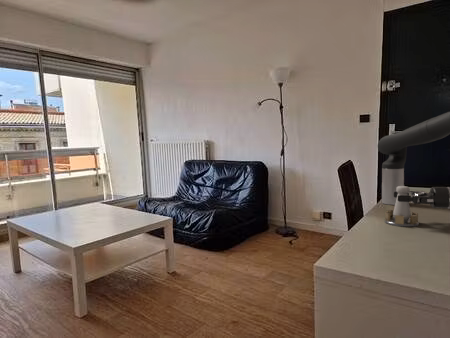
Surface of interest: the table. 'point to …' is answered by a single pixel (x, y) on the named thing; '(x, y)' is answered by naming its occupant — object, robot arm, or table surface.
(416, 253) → the table surface
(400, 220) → the disc with wooden blocks
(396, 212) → the salt shaker
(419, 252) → the table surface
